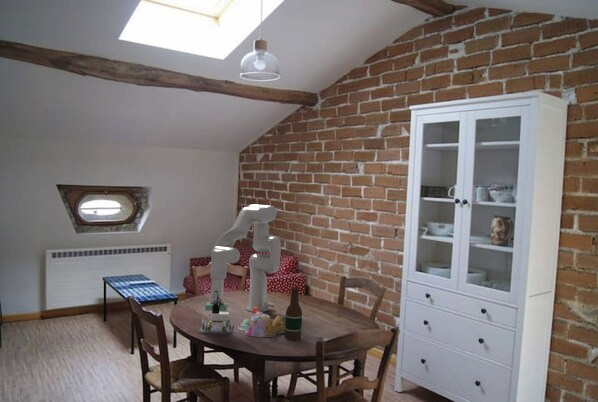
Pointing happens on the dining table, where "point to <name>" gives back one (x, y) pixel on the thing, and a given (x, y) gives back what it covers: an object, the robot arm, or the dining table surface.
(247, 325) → the pastel sphere sculpture
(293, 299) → the beer bottle
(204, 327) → the chassis
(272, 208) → the robot arm
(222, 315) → the white rectangular block
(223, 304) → the board
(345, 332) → the dining table surface
